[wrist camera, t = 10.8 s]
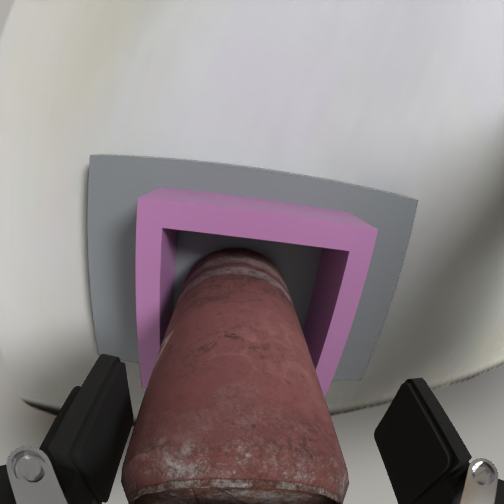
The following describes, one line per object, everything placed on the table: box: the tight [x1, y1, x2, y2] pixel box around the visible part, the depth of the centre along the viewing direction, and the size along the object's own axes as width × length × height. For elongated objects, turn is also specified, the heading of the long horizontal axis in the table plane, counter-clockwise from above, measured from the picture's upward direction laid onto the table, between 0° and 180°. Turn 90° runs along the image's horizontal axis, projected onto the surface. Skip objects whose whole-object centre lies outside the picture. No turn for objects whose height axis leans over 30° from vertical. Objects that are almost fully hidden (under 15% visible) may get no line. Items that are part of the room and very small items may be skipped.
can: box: [121, 248, 349, 504], centre depth 12 cm, size 6×6×14 cm
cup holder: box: [87, 154, 418, 398], centre depth 17 cm, size 20×14×6 cm
